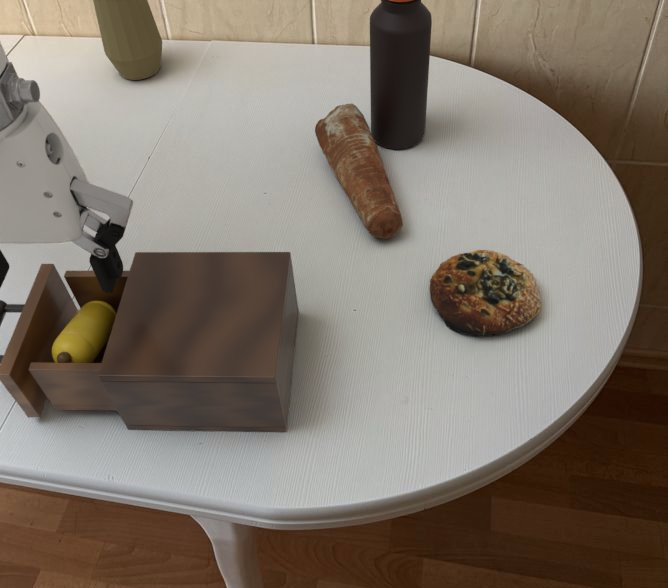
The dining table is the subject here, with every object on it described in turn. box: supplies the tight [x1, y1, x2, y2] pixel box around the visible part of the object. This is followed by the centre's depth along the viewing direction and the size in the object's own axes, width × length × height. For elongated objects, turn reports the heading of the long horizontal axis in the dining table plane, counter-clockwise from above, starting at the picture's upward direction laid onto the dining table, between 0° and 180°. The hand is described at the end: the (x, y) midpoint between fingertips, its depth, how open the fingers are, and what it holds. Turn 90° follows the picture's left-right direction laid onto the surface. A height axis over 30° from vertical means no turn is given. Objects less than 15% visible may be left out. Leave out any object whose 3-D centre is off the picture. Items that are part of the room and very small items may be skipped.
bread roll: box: [428, 249, 542, 337], centre depth 70 cm, size 11×11×5 cm
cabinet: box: [98, 251, 300, 433], centre depth 64 cm, size 15×14×9 cm
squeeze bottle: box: [92, 0, 163, 81], centre depth 93 cm, size 8×8×18 cm
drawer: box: [0, 263, 130, 418], centre depth 65 cm, size 18×13×7 cm
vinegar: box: [369, 0, 433, 150], centre depth 80 cm, size 7×7×20 cm
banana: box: [52, 301, 116, 363], centre depth 64 cm, size 10×4×4 cm, turn 177°
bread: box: [314, 102, 404, 240], centre depth 80 cm, size 6×19×6 cm, turn 14°
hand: (56, 280), depth 59 cm, fingers open, 9 cm apart
